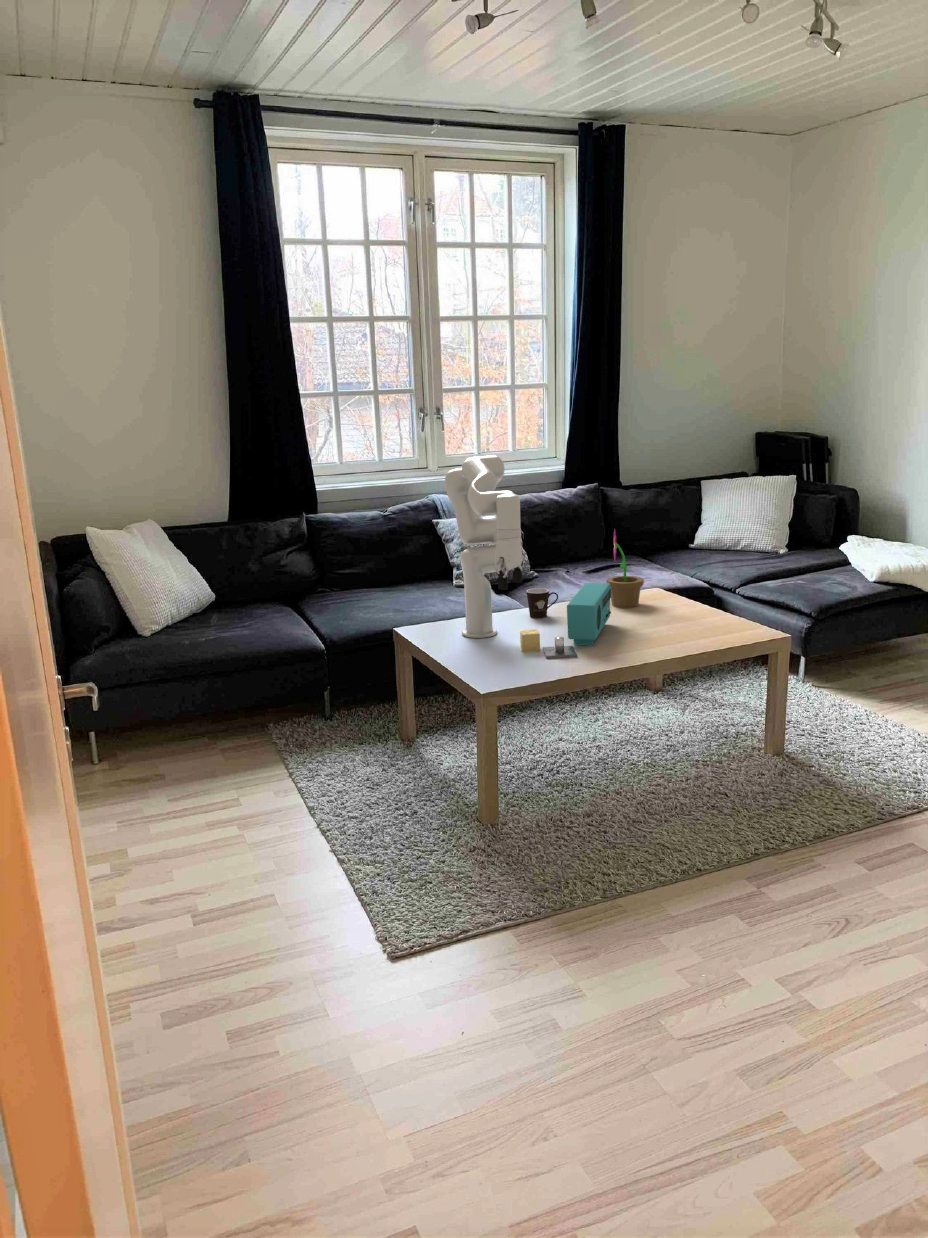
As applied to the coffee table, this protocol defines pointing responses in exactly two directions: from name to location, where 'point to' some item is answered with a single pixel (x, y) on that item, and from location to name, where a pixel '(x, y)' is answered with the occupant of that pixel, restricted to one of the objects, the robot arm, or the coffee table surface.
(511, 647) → the coffee table surface
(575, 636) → the radio
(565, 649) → the stud plate
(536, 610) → the coffee mug
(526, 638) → the pale yellow cube
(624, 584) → the flowerpot
